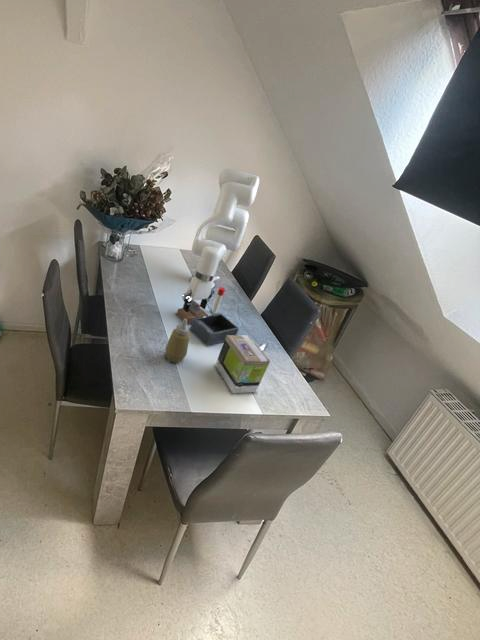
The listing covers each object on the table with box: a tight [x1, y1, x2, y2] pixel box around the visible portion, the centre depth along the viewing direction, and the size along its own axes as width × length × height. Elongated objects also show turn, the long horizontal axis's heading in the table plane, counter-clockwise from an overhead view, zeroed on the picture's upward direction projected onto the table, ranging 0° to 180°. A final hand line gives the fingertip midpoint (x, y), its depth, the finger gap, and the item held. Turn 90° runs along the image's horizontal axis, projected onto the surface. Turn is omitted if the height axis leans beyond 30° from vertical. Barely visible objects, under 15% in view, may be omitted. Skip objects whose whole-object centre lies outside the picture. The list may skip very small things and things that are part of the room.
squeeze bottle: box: [165, 319, 191, 364], centre depth 141 cm, size 8×8×18 cm
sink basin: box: [189, 312, 239, 347], centre depth 163 cm, size 16×12×6 cm
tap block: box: [176, 307, 209, 325], centre depth 172 cm, size 11×10×3 cm
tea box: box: [215, 334, 271, 394], centre depth 138 cm, size 15×10×15 cm, turn 12°
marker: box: [211, 286, 226, 315], centre depth 177 cm, size 3×3×13 cm
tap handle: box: [189, 300, 202, 315], centre depth 170 cm, size 6×2×5 cm, turn 28°
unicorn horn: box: [258, 343, 267, 353], centre depth 153 cm, size 5×24×5 cm, turn 139°
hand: (194, 309), depth 171 cm, fingers open, 9 cm apart
